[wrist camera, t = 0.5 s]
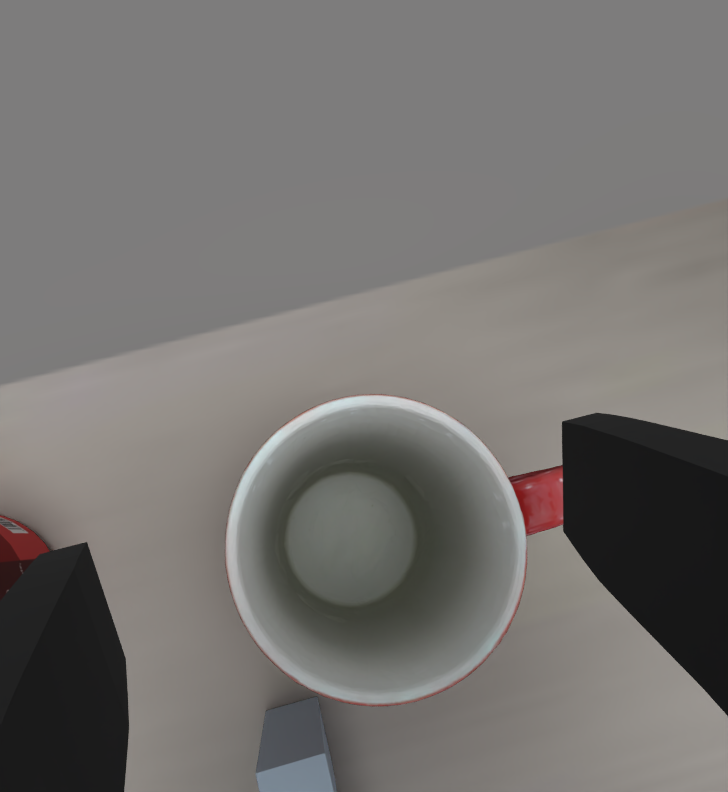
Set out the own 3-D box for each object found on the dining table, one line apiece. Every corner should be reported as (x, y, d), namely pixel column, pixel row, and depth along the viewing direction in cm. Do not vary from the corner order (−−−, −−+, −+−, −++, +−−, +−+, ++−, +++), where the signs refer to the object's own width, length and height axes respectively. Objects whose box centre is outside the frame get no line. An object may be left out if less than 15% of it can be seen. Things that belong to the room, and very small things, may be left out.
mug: (270, 657, 32) (253, 742, 19) (237, 465, 34) (201, 421, 21) (528, 599, 34) (676, 640, 21) (486, 418, 36) (599, 349, 22)
